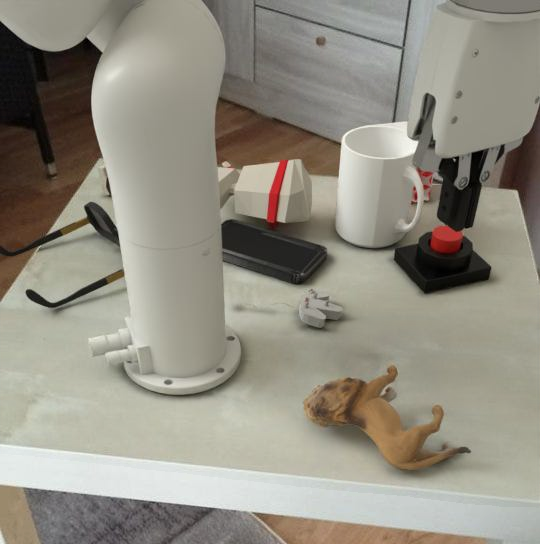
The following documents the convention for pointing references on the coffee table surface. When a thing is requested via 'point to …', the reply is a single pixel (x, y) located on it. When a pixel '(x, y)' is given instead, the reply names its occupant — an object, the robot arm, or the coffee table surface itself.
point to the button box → (441, 265)
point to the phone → (270, 251)
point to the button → (446, 240)
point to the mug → (377, 186)
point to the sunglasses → (94, 217)
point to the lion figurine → (377, 419)
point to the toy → (261, 190)
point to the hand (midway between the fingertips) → (454, 222)
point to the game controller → (316, 307)
